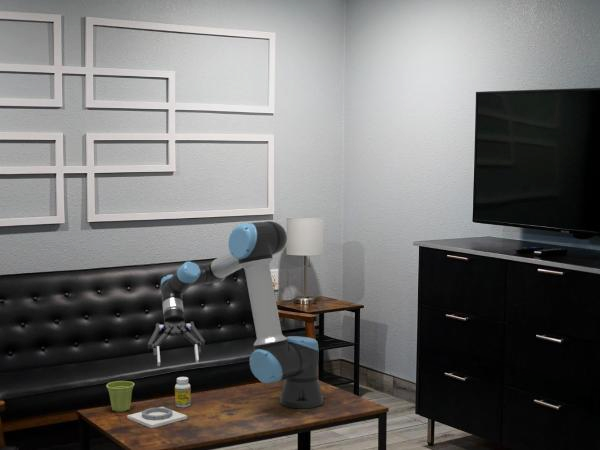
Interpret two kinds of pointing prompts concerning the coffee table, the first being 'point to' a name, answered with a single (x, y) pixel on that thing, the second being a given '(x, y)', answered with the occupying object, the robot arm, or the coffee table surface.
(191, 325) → the robot arm
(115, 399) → the plant pot
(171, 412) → the socket
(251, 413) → the coffee table surface
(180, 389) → the supplement bottle
